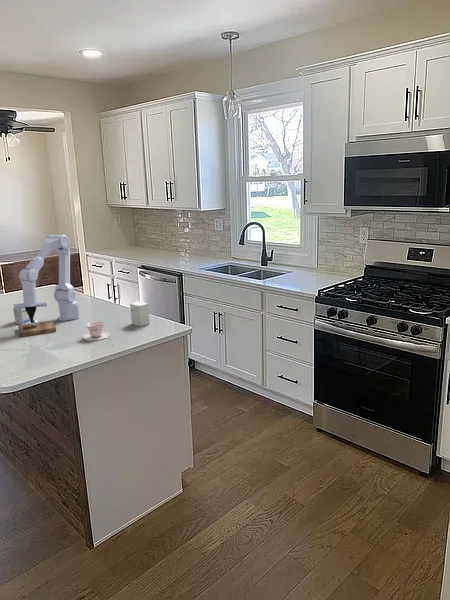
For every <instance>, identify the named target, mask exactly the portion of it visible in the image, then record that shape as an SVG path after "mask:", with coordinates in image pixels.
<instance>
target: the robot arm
mask: <svg viewBox="0 0 450 600" xmlns="http://www.w3.org/2000/svg"><path fill="white" fill-rule="evenodd" d="M70 244H71V243H70V237H68V236H67V235H66V234H48V235H47V237H46V238H45V239H44V244H43V245H42V247H41V249H40V251H39V252H38V254H37V255H36V256H33V257H31V259H30V261H29V263H28V264H27V265H26V266H25V268H23V269H21V270H20V272H19V273H18V279H19V280H20V284H21V285H22V298H23V303H17V304H13V308H14V309H19V308H25V310H26V312H27V313H28V315H29V318H30V321H29V322H30V324H31V323H33V320H34V317H35V314H36V311H37V308H41V307H43V308H44V307H46V308H47V307H48V302H47V301H41V302H40V301H37V289H36V288H37V287H36V281H37V280H38V277H39V272H40V270H41V268H43V266H44V265H45V262H44V261H45V259H46V258H47V257H48V256H49V254H51V252H52V251H53V250H55V251H56V252H57V253H58V284H57V285H56V286H55V288H54V293H53V297H54V300H55V301H56V303H58V311H59V316H58V319H59V321H60V322H63V321H72V320H79V319H80V315H79V312H80V311H79V306H78V301H77V300H75V299H76V296H77V295H76V291H75V287H74V286H73V285H72V284H71V248H70V247H71V246H70ZM26 306H28V307H26Z"/></svg>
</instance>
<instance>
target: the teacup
mask: <svg viewBox="0 0 450 600" xmlns="http://www.w3.org/2000/svg"><path fill="white" fill-rule="evenodd" d="M104 325H105V322H103V321H91V322H88V323H86V325H85V326H86V328H87V329H88V331H89V333H86V334H84V335H83V337H82V339H83V340H84V341H85V340H86V341H91V342H92V341H93V342H95V341H101V340H105V339H107V338H109V337H110V336H111V334H110V333H109V332H107V331H103V330H102V329H103V326H104Z"/></svg>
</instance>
